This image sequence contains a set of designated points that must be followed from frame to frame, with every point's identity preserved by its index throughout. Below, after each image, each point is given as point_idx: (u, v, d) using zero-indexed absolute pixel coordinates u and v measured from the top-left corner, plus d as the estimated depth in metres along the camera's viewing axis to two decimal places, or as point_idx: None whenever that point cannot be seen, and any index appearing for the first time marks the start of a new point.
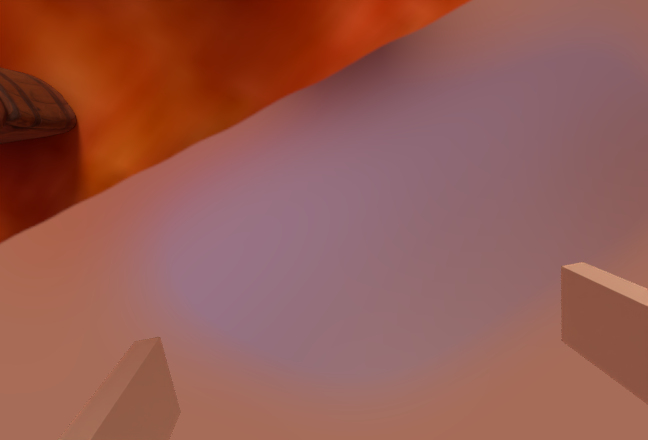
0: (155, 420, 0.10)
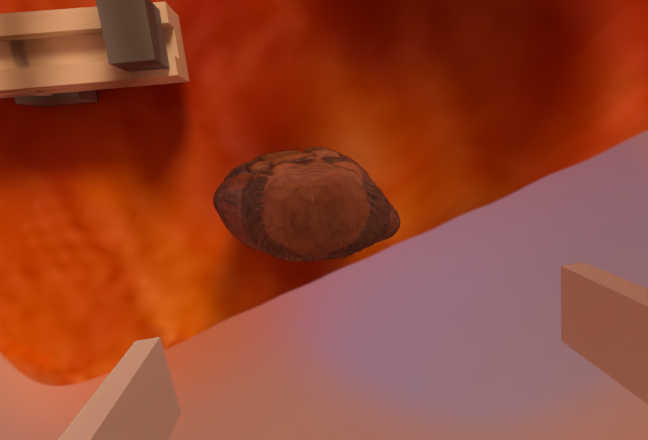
0: (155, 420, 0.10)
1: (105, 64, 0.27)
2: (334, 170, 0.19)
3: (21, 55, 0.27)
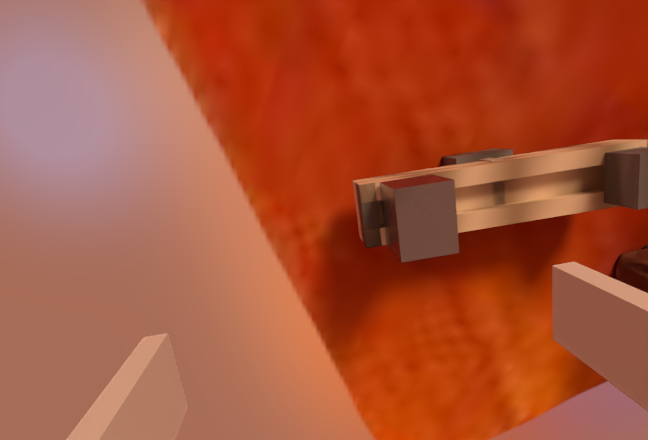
0: (164, 415, 0.10)
1: (585, 197, 0.29)
2: None
3: (499, 190, 0.30)
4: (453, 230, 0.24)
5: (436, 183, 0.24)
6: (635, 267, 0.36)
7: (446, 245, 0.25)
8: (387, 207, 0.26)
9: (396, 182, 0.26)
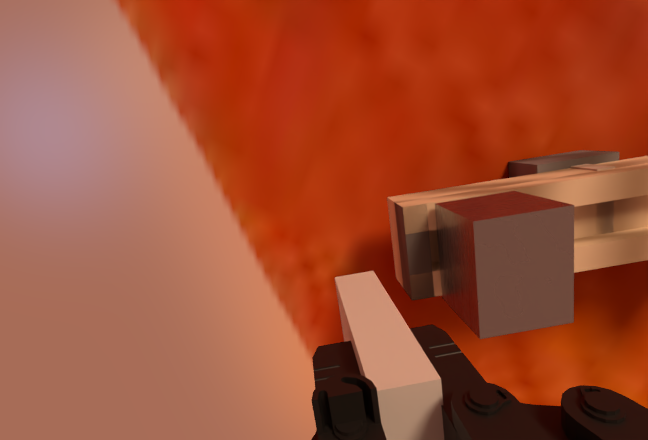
0: None
1: None
2: None
3: (606, 213, 0.20)
4: (567, 287, 0.15)
5: (544, 211, 0.14)
6: None
7: (554, 311, 0.15)
8: (451, 244, 0.17)
9: (465, 205, 0.17)
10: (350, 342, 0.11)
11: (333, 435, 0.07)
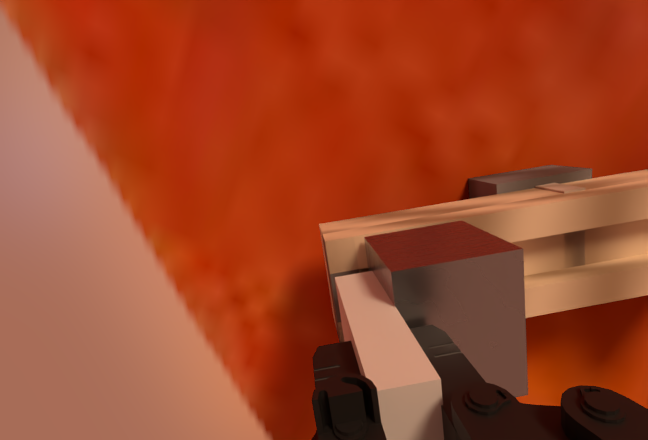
0: None
1: None
2: None
3: (576, 243, 0.17)
4: (517, 352, 0.12)
5: (484, 257, 0.11)
6: None
7: (502, 381, 0.12)
8: None
9: (396, 242, 0.13)
10: (350, 342, 0.11)
11: (333, 435, 0.07)
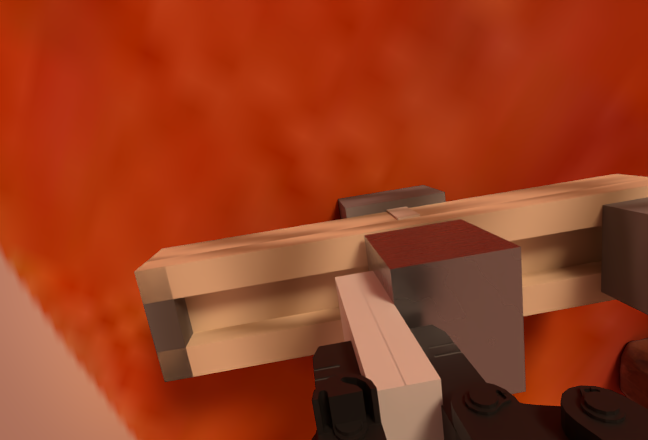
0: None
1: (568, 284, 0.16)
2: None
3: None
4: (515, 349, 0.12)
5: (482, 255, 0.11)
6: None
7: (500, 378, 0.12)
8: None
9: (395, 240, 0.13)
10: (350, 342, 0.11)
11: (333, 435, 0.07)
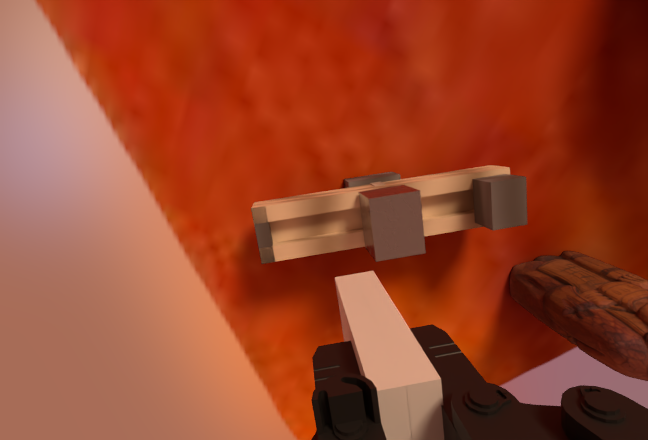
0: None
1: (458, 218, 0.33)
2: None
3: None
4: (420, 234, 0.29)
5: (404, 193, 0.28)
6: (522, 278, 0.40)
7: (414, 246, 0.29)
8: (364, 214, 0.30)
9: (372, 192, 0.30)
10: (350, 342, 0.11)
11: (333, 435, 0.07)
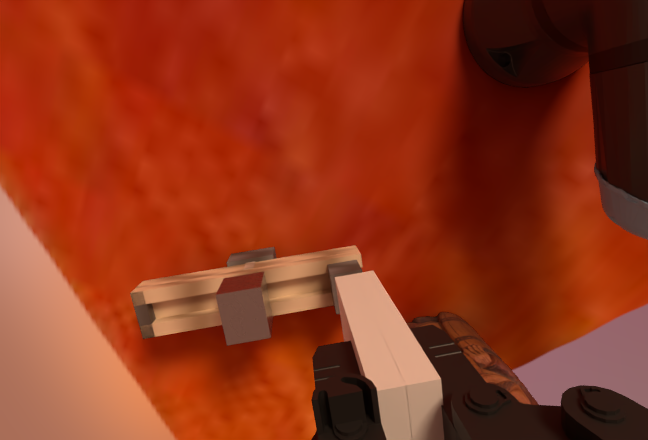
0: None
1: (317, 297, 0.38)
2: None
3: None
4: (264, 322, 0.33)
5: (247, 290, 0.32)
6: None
7: (260, 332, 0.33)
8: None
9: (230, 281, 0.35)
10: (350, 342, 0.11)
11: (333, 435, 0.07)
